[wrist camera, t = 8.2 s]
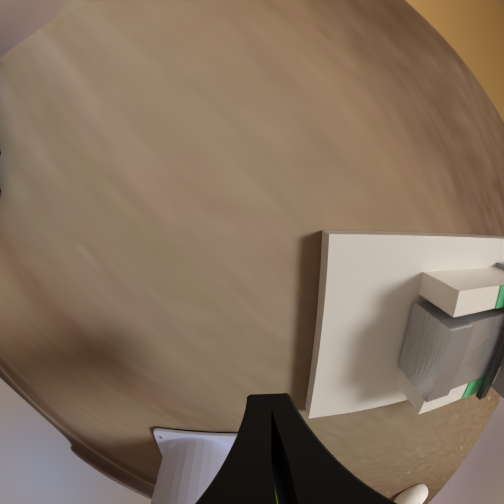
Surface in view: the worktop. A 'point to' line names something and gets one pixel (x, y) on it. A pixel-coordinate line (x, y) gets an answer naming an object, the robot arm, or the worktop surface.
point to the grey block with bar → (451, 349)
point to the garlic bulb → (412, 495)
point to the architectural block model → (392, 311)
